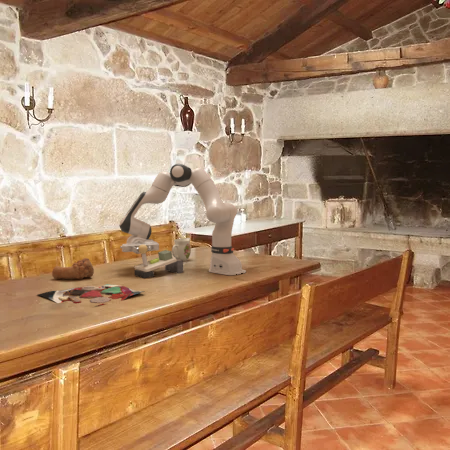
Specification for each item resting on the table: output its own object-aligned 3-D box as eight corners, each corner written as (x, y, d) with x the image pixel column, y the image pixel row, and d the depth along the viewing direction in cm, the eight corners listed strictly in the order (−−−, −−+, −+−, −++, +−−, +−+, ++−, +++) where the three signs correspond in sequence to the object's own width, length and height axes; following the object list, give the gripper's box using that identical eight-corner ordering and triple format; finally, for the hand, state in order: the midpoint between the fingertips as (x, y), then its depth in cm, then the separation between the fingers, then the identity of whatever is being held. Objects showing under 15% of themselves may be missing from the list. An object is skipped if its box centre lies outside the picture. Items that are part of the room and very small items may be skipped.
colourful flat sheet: (102, 283, 238) (102, 280, 238) (145, 296, 215) (145, 292, 215) (36, 296, 212) (36, 292, 212) (78, 312, 189) (78, 307, 189)
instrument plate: (164, 258, 269) (160, 235, 266) (176, 261, 261) (173, 238, 258) (134, 268, 257) (130, 245, 254) (146, 272, 248) (142, 247, 245)
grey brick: (183, 272, 264) (183, 260, 264) (145, 278, 248) (145, 265, 247) (170, 269, 273) (170, 257, 272) (133, 274, 257) (133, 262, 256)
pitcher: (165, 261, 296) (165, 240, 294) (182, 257, 311) (182, 237, 309) (179, 263, 290) (179, 241, 288) (196, 259, 305) (196, 238, 304)
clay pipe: (84, 289, 240) (100, 274, 252) (80, 270, 235) (96, 257, 248) (53, 285, 245) (70, 271, 258) (49, 267, 241) (66, 254, 254)
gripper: (119, 240, 260) (123, 244, 247) (155, 239, 267) (161, 242, 255) (119, 252, 260) (123, 256, 248) (155, 250, 268) (161, 254, 255)
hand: (143, 249), depth 251 cm, fingers closed on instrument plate, 5 cm apart
